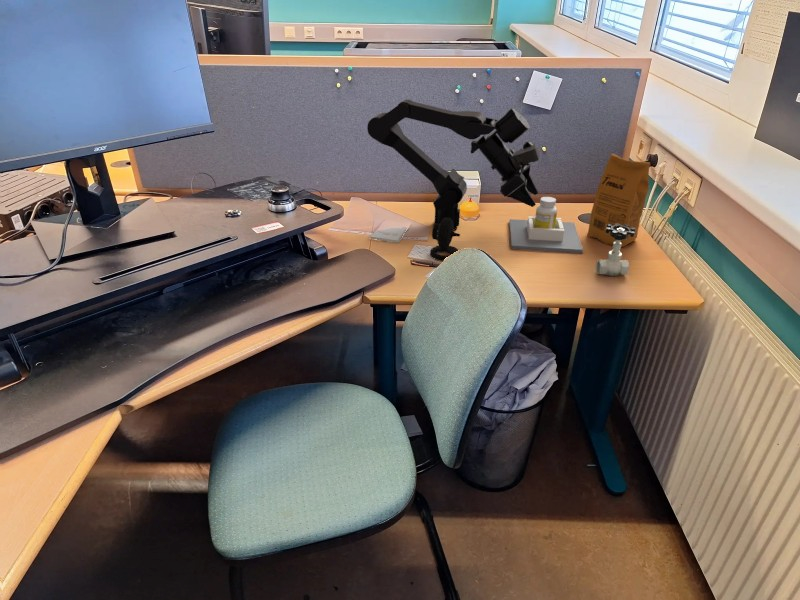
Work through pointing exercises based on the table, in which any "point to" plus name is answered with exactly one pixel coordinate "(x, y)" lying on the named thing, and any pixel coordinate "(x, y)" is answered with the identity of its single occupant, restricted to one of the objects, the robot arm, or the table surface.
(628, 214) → the coffee package
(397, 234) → the external hard drive
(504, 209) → the table surface
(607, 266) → the valve
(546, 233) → the socket board
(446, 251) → the webcam
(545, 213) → the supplement bottle
